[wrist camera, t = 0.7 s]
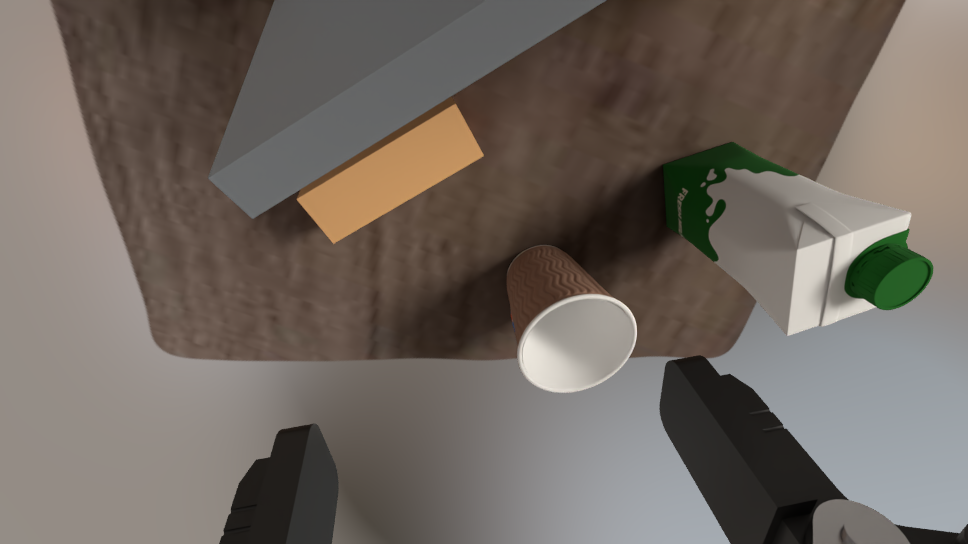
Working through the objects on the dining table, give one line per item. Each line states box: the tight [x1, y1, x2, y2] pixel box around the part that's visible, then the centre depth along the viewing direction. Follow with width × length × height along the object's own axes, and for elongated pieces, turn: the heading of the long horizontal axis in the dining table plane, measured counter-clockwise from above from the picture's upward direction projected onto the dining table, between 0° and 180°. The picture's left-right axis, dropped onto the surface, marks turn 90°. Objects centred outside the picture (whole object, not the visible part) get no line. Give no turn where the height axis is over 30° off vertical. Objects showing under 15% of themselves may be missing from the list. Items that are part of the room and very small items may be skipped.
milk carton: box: [663, 142, 933, 336], centre depth 39 cm, size 9×9×20 cm
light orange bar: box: [297, 97, 484, 244], centre depth 38 cm, size 14×4×5 cm, turn 118°
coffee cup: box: [506, 245, 637, 393], centre depth 44 cm, size 10×10×12 cm
